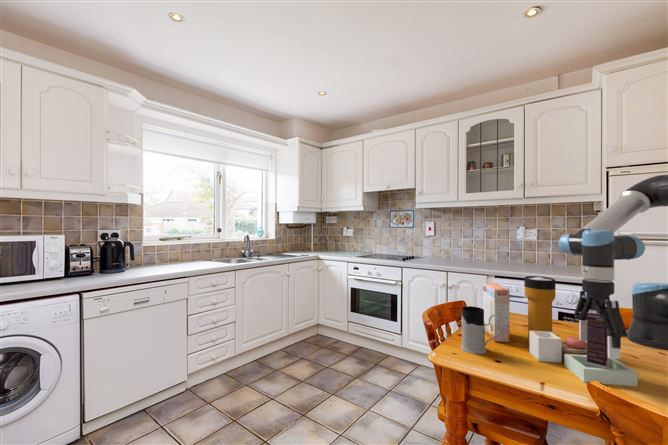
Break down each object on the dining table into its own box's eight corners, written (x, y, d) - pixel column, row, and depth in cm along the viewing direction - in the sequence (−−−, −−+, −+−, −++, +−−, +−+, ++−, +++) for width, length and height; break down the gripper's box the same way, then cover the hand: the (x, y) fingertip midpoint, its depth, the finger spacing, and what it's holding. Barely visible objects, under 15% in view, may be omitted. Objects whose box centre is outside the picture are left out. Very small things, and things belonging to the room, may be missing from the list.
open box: (551, 354, 110) (550, 331, 110) (561, 362, 103) (561, 339, 103) (529, 352, 111) (529, 330, 111) (538, 361, 104) (538, 337, 104)
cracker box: (510, 343, 120) (510, 289, 120) (494, 342, 121) (493, 289, 121) (497, 330, 134) (497, 282, 134) (482, 330, 135) (482, 282, 135)
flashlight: (520, 274, 125) (547, 275, 123) (520, 338, 125) (548, 340, 123) (530, 279, 115) (560, 280, 113) (531, 348, 115) (561, 350, 113)
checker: (586, 353, 110) (586, 341, 110) (605, 366, 100) (605, 353, 100) (549, 351, 112) (548, 339, 112) (564, 363, 103) (564, 350, 103)
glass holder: (460, 343, 121) (460, 305, 121) (501, 348, 115) (501, 308, 115) (460, 351, 113) (460, 310, 113) (504, 358, 107) (504, 315, 107)
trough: (611, 369, 98) (611, 356, 98) (637, 386, 88) (637, 372, 88) (564, 366, 101) (564, 353, 101) (583, 382, 91) (583, 368, 91)
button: (579, 344, 108) (579, 337, 108) (588, 350, 103) (588, 342, 103) (563, 343, 109) (563, 336, 109) (571, 349, 104) (571, 341, 104)
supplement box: (607, 370, 90) (607, 315, 90) (586, 364, 93) (585, 312, 93) (609, 360, 96) (609, 309, 96) (589, 355, 99) (589, 306, 99)
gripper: (562, 273, 107) (562, 333, 107) (612, 288, 83) (613, 366, 83) (586, 273, 106) (586, 334, 106) (644, 289, 82) (645, 368, 82)
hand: (598, 348), depth 95 cm, fingers open, 13 cm apart
